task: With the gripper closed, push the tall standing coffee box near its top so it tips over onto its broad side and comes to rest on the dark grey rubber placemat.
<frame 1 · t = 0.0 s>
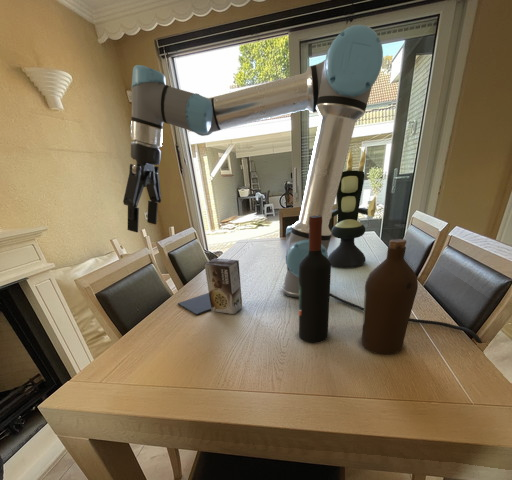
hand: (142, 227, 88), 28 cm above the table, tool tilted 20°, fingers open, 13 cm apart
placemat: (207, 302, 105), on the table
wine bottle: (313, 336, 78), on the table
olive oil: (380, 345, 72), on the table
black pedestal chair: (344, 262, 134), on the table
coffee box: (226, 309, 98), on the table, touching placemat
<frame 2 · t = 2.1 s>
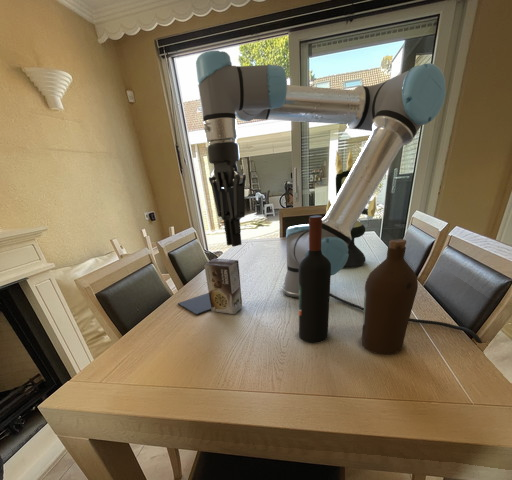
hand: (234, 244, 81), 22 cm above the table, tool pointing down, fingers closed
nothing on the table moved.
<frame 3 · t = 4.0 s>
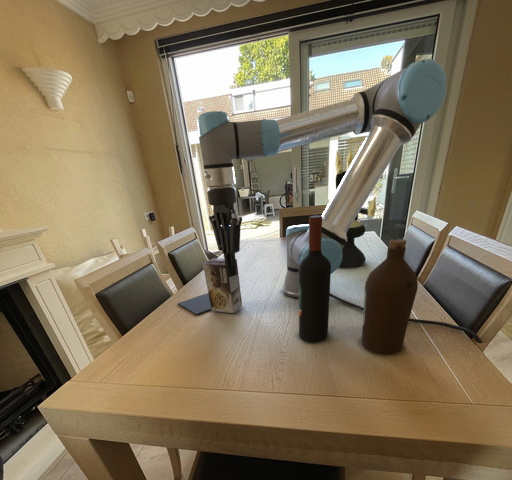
hand: (231, 275, 87), 13 cm above the table, tool pointing down, fingers closed
coffee box: (226, 308, 98), on the table, touching gripper, placemat
everything else where it was.
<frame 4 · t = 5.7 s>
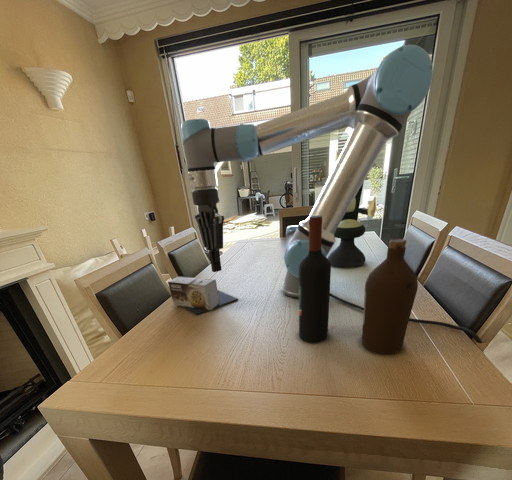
hand: (216, 270, 94), 13 cm above the table, tool pointing down, fingers closed
coffee box: (213, 295, 97), point 5 cm above the table, touching placemat
everything else where it was.
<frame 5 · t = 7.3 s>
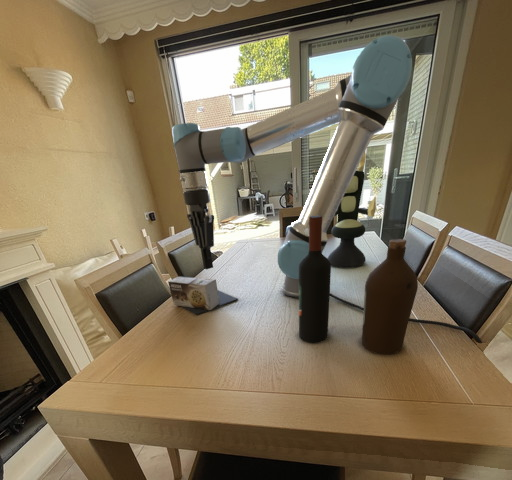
hand: (208, 268, 97), 13 cm above the table, tool pointing down, fingers closed
nothing on the table moved.
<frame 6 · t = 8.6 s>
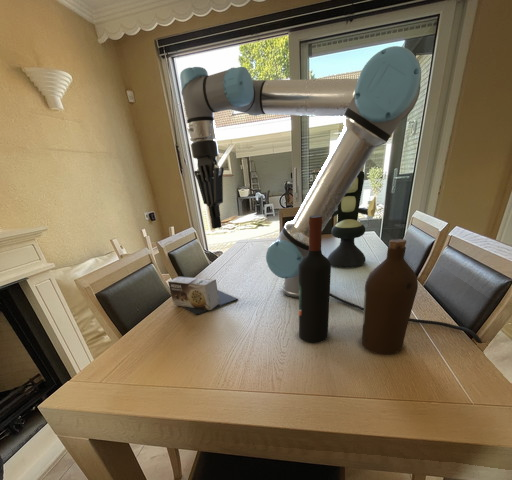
hand: (216, 227, 95), 25 cm above the table, tool pointing down, fingers closed
nothing on the table moved.
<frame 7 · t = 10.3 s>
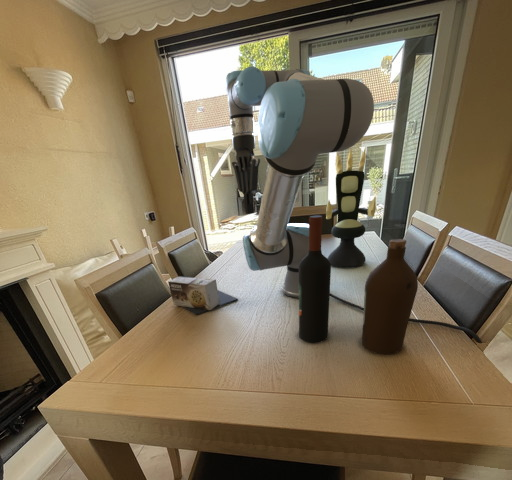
hand: (249, 213, 107), 26 cm above the table, tool pointing down, fingers closed
nothing on the table moved.
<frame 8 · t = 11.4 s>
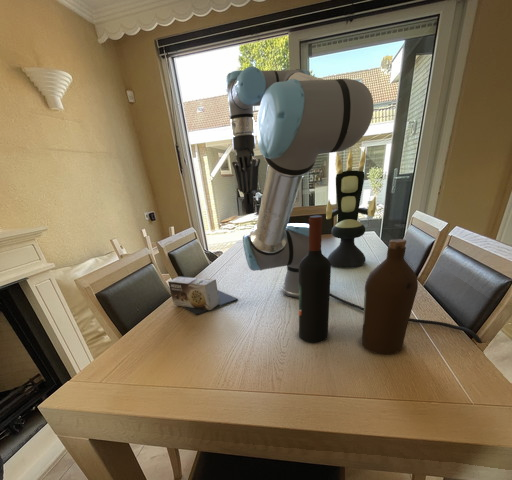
hand: (250, 213, 107), 26 cm above the table, tool pointing down, fingers closed
nothing on the table moved.
at the end: coffee box tilted 89°; coffee box touching placemat; coffee box inside the target area (6.5 cm from its centre), point 4.9 cm above the table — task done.
